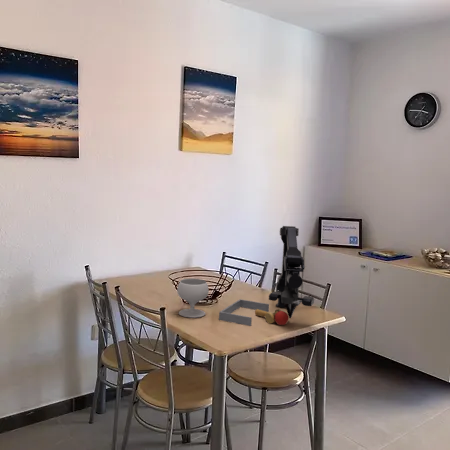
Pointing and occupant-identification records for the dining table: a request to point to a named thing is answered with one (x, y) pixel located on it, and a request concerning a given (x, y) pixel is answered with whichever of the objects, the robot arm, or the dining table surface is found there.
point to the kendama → (274, 316)
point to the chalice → (192, 295)
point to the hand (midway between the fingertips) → (290, 317)
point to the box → (227, 316)
